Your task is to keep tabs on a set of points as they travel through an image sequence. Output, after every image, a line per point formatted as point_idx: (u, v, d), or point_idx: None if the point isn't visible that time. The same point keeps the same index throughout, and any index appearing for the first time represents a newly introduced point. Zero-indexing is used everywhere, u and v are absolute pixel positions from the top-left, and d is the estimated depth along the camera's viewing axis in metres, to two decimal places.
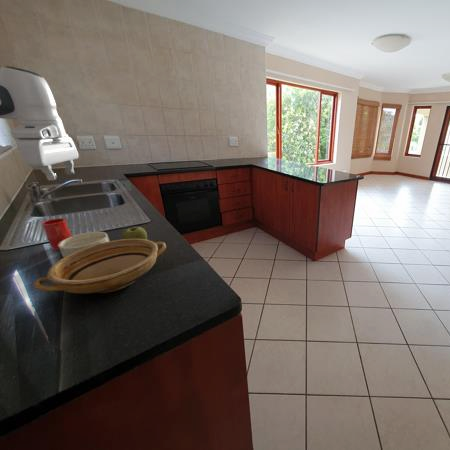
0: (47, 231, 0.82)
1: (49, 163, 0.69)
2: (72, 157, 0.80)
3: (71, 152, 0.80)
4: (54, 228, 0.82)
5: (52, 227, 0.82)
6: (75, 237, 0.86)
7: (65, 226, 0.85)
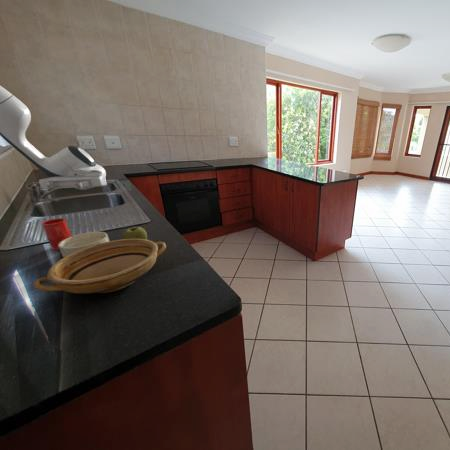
0: (47, 231, 0.82)
1: (92, 186, 0.98)
2: None
3: None
4: (54, 228, 0.82)
5: (52, 227, 0.82)
6: (75, 237, 0.86)
7: (65, 226, 0.85)
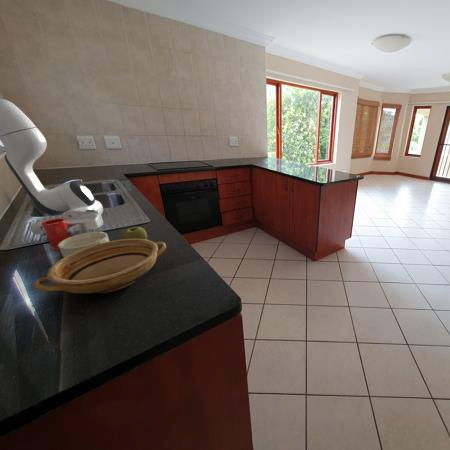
0: (47, 231, 0.82)
1: None
2: None
3: None
4: (54, 228, 0.82)
5: (52, 227, 0.82)
6: (75, 237, 0.86)
7: (65, 226, 0.85)
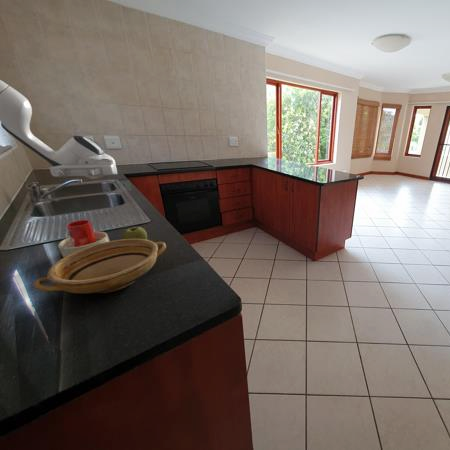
0: (72, 233, 0.79)
1: (103, 174, 0.96)
2: None
3: None
4: (79, 230, 0.80)
5: (77, 229, 0.79)
6: None
7: (90, 228, 0.83)
